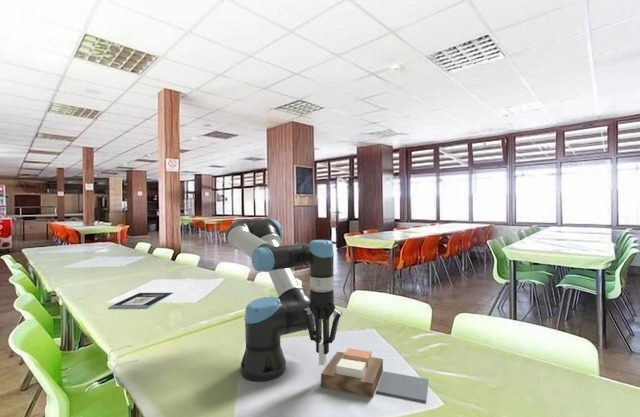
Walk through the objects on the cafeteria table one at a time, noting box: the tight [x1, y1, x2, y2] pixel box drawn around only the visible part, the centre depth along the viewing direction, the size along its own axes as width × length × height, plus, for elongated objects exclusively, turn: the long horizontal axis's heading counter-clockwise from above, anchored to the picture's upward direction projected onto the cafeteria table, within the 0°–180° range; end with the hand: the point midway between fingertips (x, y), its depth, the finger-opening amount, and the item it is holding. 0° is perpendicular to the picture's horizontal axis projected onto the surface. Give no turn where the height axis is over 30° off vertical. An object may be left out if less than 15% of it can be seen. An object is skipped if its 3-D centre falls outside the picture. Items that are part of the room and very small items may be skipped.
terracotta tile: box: [344, 347, 372, 366], centre depth 109 cm, size 8×5×2 cm, turn 69°
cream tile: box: [337, 359, 366, 379], centre depth 101 cm, size 8×5×2 cm, turn 69°
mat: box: [375, 370, 429, 403], centre depth 100 cm, size 14×12×1 cm
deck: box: [320, 351, 384, 398], centre depth 105 cm, size 16×16×4 cm
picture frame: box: [108, 292, 174, 310], centre depth 193 cm, size 22×30×2 cm
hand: (322, 362), depth 105 cm, fingers closed
